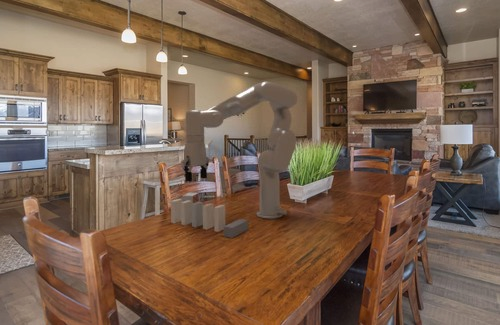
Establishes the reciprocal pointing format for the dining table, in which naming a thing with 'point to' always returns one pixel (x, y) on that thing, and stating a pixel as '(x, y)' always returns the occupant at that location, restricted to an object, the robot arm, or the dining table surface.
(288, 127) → the robot arm
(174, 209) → the end tile
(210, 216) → the tile
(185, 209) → the tile
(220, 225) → the tile
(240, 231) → the end block
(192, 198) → the small box
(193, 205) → the tile
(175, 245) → the dining table surface
